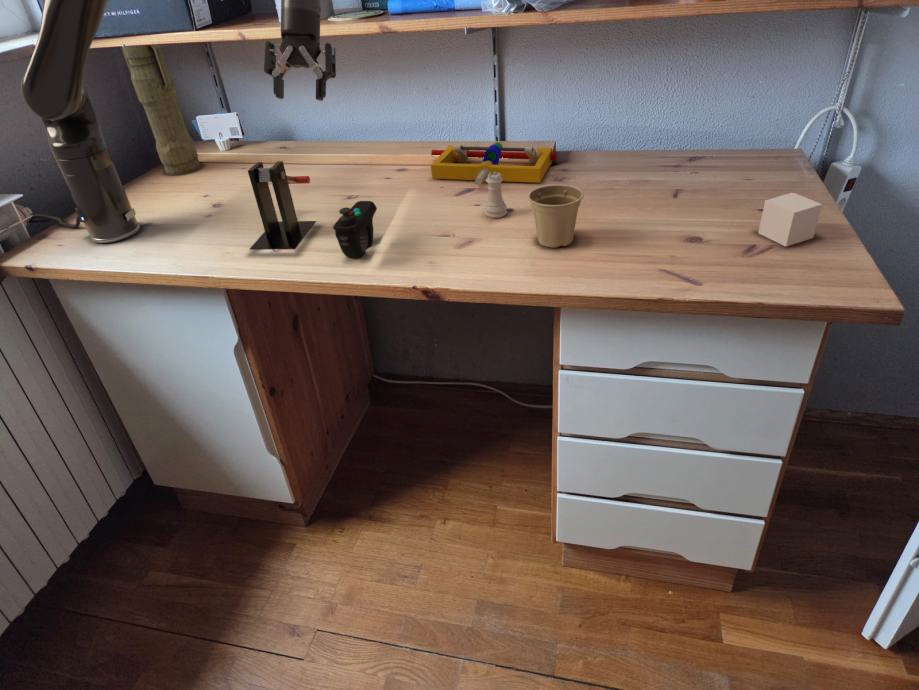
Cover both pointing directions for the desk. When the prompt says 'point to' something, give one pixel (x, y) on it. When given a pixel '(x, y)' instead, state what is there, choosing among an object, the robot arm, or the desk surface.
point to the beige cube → (789, 219)
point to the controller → (355, 229)
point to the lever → (265, 175)
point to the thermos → (161, 107)
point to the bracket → (276, 232)
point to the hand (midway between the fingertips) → (299, 99)
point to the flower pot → (555, 213)
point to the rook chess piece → (495, 197)
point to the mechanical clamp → (491, 163)
